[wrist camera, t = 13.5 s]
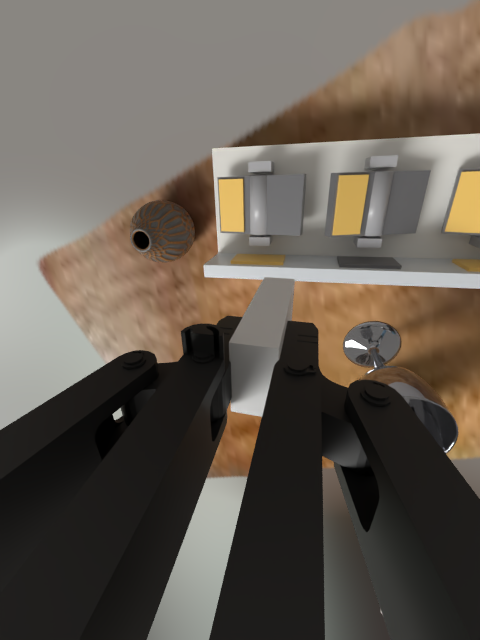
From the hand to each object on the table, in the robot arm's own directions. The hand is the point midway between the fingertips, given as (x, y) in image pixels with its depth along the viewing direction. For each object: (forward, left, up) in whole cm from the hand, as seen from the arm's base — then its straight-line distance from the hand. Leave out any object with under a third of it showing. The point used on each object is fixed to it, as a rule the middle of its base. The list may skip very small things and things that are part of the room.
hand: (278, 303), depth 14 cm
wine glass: (-11, +14, -22) cm, 28 cm away
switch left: (+3, -4, -16) cm, 16 cm away
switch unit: (-7, -4, -22) cm, 23 cm away
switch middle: (-7, -4, -15) cm, 17 cm away
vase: (+15, -1, -22) cm, 27 cm away
